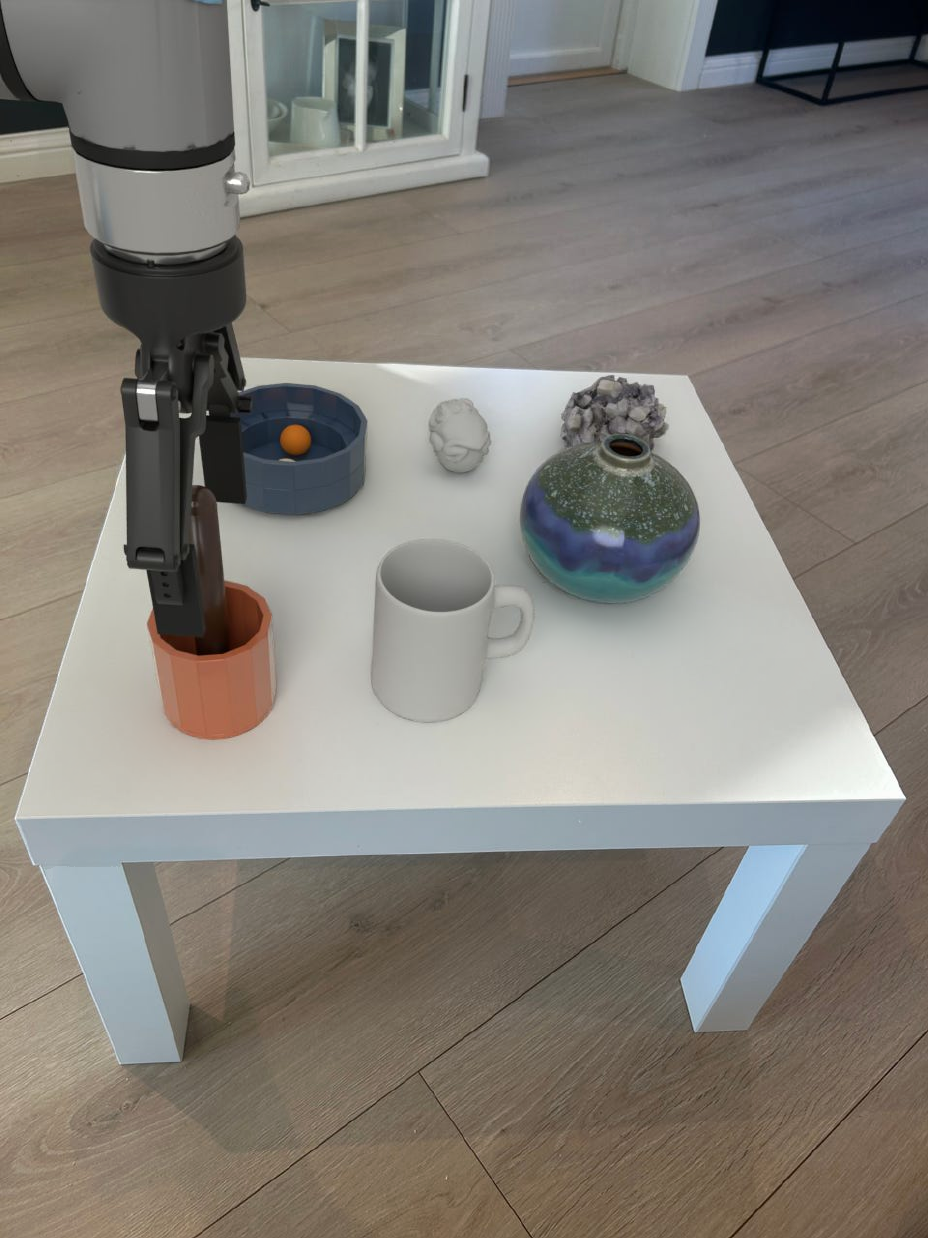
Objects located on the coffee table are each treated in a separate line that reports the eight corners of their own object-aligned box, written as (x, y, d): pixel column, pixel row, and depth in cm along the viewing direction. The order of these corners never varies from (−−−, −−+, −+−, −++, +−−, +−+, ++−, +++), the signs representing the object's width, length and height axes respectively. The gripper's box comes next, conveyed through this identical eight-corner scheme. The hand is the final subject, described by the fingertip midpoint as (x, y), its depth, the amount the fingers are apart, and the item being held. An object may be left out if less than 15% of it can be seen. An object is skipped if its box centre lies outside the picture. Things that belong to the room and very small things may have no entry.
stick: (198, 703, 71) (170, 498, 58) (205, 680, 72) (180, 475, 60) (231, 706, 71) (210, 501, 58) (238, 682, 73) (218, 479, 60)
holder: (149, 736, 69) (133, 656, 63) (177, 653, 75) (165, 574, 69) (264, 744, 69) (259, 666, 64) (283, 662, 75) (279, 584, 70)
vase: (668, 528, 93) (704, 406, 84) (693, 637, 82) (737, 510, 73) (510, 514, 92) (529, 389, 83) (512, 623, 81) (535, 492, 72)
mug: (376, 727, 71) (382, 618, 64) (365, 647, 77) (369, 538, 70) (534, 716, 73) (557, 609, 66) (510, 639, 80) (529, 533, 72)
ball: (278, 460, 94) (277, 433, 92) (283, 443, 97) (282, 417, 95) (309, 462, 95) (308, 436, 93) (313, 446, 97) (312, 420, 95)
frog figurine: (463, 442, 101) (469, 382, 96) (500, 477, 97) (509, 416, 92) (413, 456, 98) (417, 395, 94) (449, 492, 94) (455, 430, 89)
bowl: (202, 512, 88) (196, 456, 84) (232, 430, 99) (228, 376, 95) (357, 525, 89) (358, 471, 85) (371, 442, 99) (372, 390, 95)
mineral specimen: (556, 446, 95) (610, 355, 93) (528, 427, 103) (577, 342, 101) (650, 501, 100) (704, 415, 97) (617, 478, 108) (666, 398, 106)
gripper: (183, 358, 40) (225, 705, 54) (279, 161, 58) (292, 459, 72) (-2, 342, 39) (90, 696, 54) (154, 149, 58) (191, 451, 72)
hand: (206, 560), depth 63 cm, fingers open, 13 cm apart
